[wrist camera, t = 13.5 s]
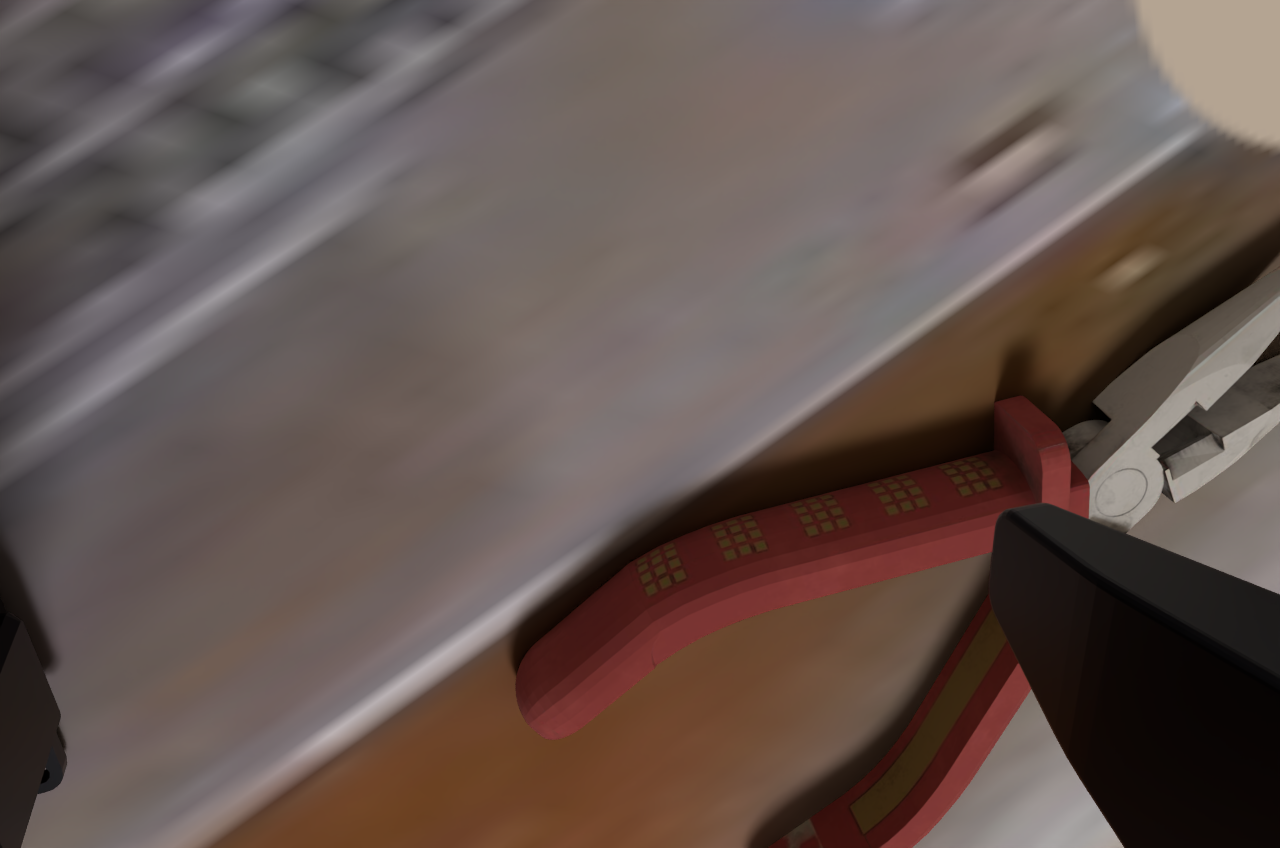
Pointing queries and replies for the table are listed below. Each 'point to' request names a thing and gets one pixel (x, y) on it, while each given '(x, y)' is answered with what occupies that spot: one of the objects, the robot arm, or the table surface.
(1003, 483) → the pliers
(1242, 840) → the robot arm
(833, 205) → the table surface
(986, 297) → the table surface
